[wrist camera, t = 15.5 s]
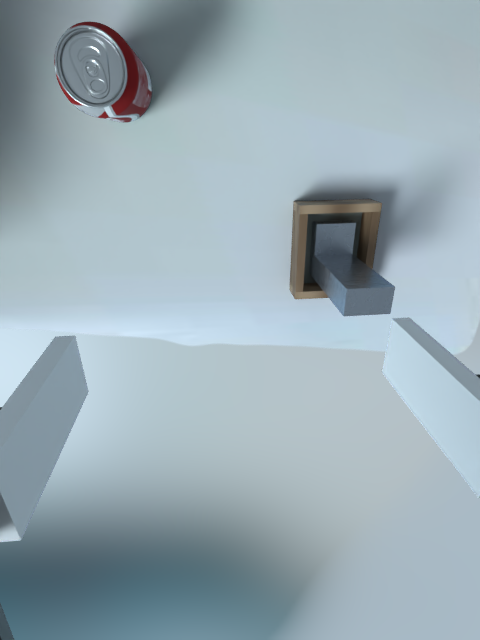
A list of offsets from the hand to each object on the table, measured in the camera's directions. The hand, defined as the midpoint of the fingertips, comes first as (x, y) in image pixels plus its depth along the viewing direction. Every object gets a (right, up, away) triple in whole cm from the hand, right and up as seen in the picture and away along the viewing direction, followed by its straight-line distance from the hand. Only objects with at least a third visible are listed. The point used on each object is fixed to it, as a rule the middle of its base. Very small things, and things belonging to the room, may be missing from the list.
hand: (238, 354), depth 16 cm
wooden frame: (+12, +11, +34) cm, 38 cm away
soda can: (-13, +27, +25) cm, 39 cm away
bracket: (+12, +11, +34) cm, 38 cm away
